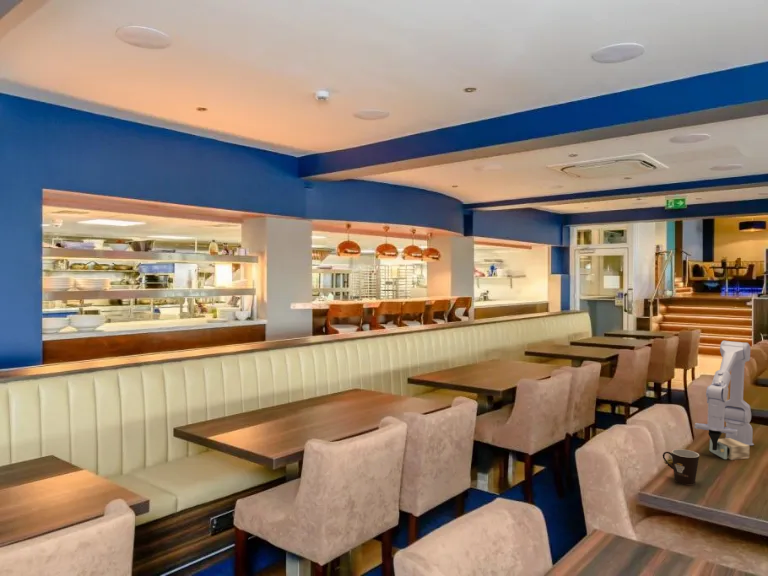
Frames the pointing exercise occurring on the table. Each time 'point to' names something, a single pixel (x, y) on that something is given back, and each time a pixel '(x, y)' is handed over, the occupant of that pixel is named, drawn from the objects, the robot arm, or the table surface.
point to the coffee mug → (684, 465)
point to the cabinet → (735, 448)
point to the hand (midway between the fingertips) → (714, 449)
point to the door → (719, 450)
